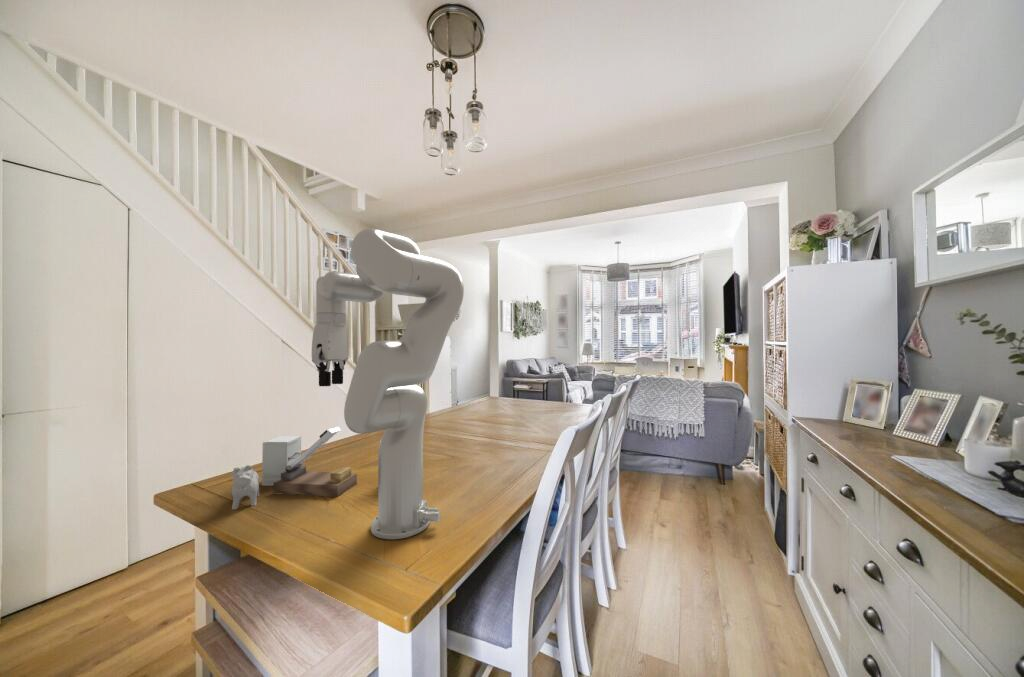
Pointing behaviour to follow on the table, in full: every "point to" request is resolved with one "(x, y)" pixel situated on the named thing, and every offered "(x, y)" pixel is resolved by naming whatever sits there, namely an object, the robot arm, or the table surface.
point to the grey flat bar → (313, 448)
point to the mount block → (315, 482)
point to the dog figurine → (245, 485)
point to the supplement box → (278, 457)
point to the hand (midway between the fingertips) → (331, 384)
